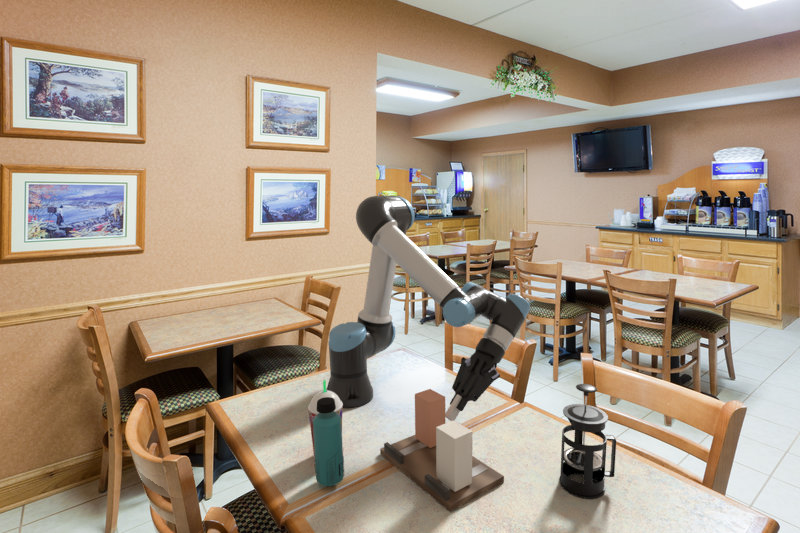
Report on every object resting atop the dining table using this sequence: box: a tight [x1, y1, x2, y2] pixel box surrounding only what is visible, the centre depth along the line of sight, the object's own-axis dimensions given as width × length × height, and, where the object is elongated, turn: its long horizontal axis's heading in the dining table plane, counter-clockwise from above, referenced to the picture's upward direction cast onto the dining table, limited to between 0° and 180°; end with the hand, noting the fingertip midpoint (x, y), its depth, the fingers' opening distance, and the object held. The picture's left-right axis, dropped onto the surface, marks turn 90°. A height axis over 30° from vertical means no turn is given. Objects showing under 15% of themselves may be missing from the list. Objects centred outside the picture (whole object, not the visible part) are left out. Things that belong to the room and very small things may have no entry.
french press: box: [558, 383, 617, 500], centre depth 97 cm, size 12×9×23 cm
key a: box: [436, 420, 473, 492], centre depth 97 cm, size 5×6×12 cm
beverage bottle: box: [312, 397, 345, 487], centre depth 99 cm, size 6×7×20 cm
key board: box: [379, 434, 505, 513], centre depth 106 cm, size 16×26×4 cm, turn 35°
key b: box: [414, 388, 446, 448], centre depth 113 cm, size 5×6×12 cm
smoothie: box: [307, 379, 344, 457], centre depth 109 cm, size 8×8×20 cm
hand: (448, 418), depth 117 cm, fingers closed
